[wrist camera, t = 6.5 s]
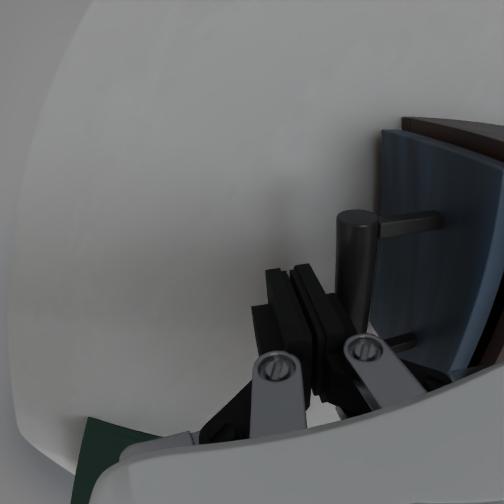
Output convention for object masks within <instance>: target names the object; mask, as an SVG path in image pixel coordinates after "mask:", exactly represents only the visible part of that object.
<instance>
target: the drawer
mask: <svg viewBox="0 0 504 504" xmlns="http://www.w3.org/2000/svg"><path fill="white" fill-rule="evenodd" d="M377 237H378V238H379V239H378V251H377V262H376V272H375V281H374V289H373V280H374V271H375V261H376V249H377ZM372 289H373V297H372ZM335 294H336V295H337V297H338V298H339V300H340V302H341V304H342V305H343V307H344V309H345V311H346V312H347V314H348V316H349V318H350V319H351V321H352V323H353V325H354V326H355V328H356V330H357V332H358V334H361V333H366V332H367V325H368V319H369V312H370V304H371V297H372V305H371V312H370V319H369V321H370V323H371V324H372V326H373V328H374V329H375V331H376V332H377V334H378V336H379V337H380V338H381V339H382V340H383V341H384V342H385V343H386V344H387V345H388V346H389V347H390V348H391V350H392V351H393V352H394V353H395V354H396V355H397V357H398V358H400V359H404V360H407V361H410V362H413V363H416V364H419V365H422V366H425V367H429V368H432V369H435V370H438V371H441V372H443V373H445V374H446V375H447V374H448V372H449V371H453V370H459V369H465V368H470V367H476V366H479V364H480V362H481V359H482V357H483V355H484V353H485V351H486V349H487V347H488V344H489V342H490V340H491V338H492V335H493V333H494V331H495V328H496V326H497V323H498V321H499V318H500V316H501V313H502V311H503V308H504V162H501V161H498V160H496V159H493V158H491V157H488V156H485V155H482V154H480V153H477V152H474V151H471V150H468V149H465V148H462V147H459V146H456V145H453V144H450V143H447V142H443V141H440V140H437V139H433V138H430V137H426V136H423V135H419V134H415V133H412V132H408V131H404V130H382V181H381V207H380V216H379V217H377V215H375V214H374V213H372V212H369V211H365V210H347V211H343V212H341V213H339V214H338V215H337V221H336V272H335Z"/></svg>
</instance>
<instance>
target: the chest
mask: <svg viewBox="0 0 504 504" xmlns="http://www.w3.org/2000/svg"><path fill="white" fill-rule="evenodd" d="M158 438H162V437H158V436H153V435H149V434H145V433H141V432H137V431H134V430H130V429H126V428H123V427H119V426H116V425H112V424H109V423H106V422H103V421H100V420H96V419H93V418H90V417H88V419H87V424H86V428H85V432H84V436H83V440H82V445H81V450H80V454H79V459H78V464H77V469H76V474H75V481H74V486H73V492H72V498H71V504H89V501H90V497H91V494H92V491H93V488H94V486H95V483H96V481H97V479H98V478H99V477H100V475H101V474H102V473H103V472H104V471H105V470H106V469H108V468H109V467H111V466H112V465H114V464H116V463H118V462H119V457H120V455H121V453H122V451H123V450H124V449H125V448H127V447H128V446H130V445H133V444H135V443H140V442H145V441H150V440H154V439H158Z"/></svg>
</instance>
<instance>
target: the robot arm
mask: <svg viewBox="0 0 504 504" xmlns="http://www.w3.org/2000/svg"><path fill="white" fill-rule="evenodd" d="M265 274H266V284H267V295H268V304H264V305H257V306H251V309H252V317H253V324H254V331H255V337H256V343H257V348H258V354H259V358H257V360H256V361H255V363H254V366H253V374H252V380H251V381H250V382H249V383H248V384H247V385H246V386H245V387H244V388H243V389H242V390H241V391H240V392H239V393H238V394H237V395H236V396H235V397H234V398H233V399H232V400H231V401H230V402H229V403H228V404H227V405H225V406H224V407H223V408H222V409H221V410H220V411H219V412H218V413H217V414H216V415H215V416H214V417H213V418H212V419H211V420H210V421H208V422H207V423H206V424H205V425H204V427H203V428H202V429H201V431H198V432H194V433H190V431H186V432H183V433H179V434H175V435H171V436H167V437H163V438H158V439H154V440H150V441H145V442H140V443H135V444H133V445H130V446H128V447H127V448H125V449H124V450H123V451H122V453H121V455H120V457H119V462H118V463H116V464H114V465H112V466H111V467H109V468H108V469H106V470H105V471H104V472H103V473H102V474H101V475H100V477H99V478H98V479H97V481H96V483H95V486H94V488H93V491H92V494H91V497H90V501H89V504H504V362H501V363H497V364H486V365H481V366H476V367H470V368H465V369H459V370H453V371H449V372H448V374H447V375H446V374H445V373H443V372H441V371H438V370H435V369H432V368H429V367H425V366H422V365H419V364H416V363H413V362H410V361H407V360H404V359H400V358H398V357H397V355H396V354H395V353H394V352H393V351H392V350H391V348H390V347H389V346H388V345H387V344H386V343H385V342H384V341H383V340H382V339H381V338H380V337H378V336H376V335H373V334H368V333H361V334H358V332H357V330H356V328H355V326H354V325H353V323H352V321H351V319H350V318H349V316H348V314H347V312H346V311H345V309H344V307H343V305H342V304H341V302H340V300H339V298H338V297H337V295H336V294H335V293H329V294H325V292H324V290H323V288H322V286H321V284H320V282H319V281H318V279H317V277H316V275H315V273H314V271H313V270H312V268H311V266H310V264H309V263H308V264H301V265H295V266H294V269H293V270H290V272H289V274H290V279H289V277H288V274H287V272H286V271H281V269H280V268H275V269H269V270H265ZM311 388H312V391H313V394H314V396H317V395H319V396H320V399H321V402H322V403H324V402H329V403H331V404H333V405H336V411H337V414H338V415H339V417H340V419H341V421H337V422H333V423H329V424H324V425H320V426H316V427H311V428H307V420H306V410H307V409H308V408H309V406H310V396H311Z"/></svg>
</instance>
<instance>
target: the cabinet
mask: <svg viewBox="0 0 504 504" xmlns="http://www.w3.org/2000/svg"><path fill="white" fill-rule="evenodd" d="M402 119H403V130H404V131H408V132H412V133H415V134H419V135H423V136H426V137H430V138H433V139H437V140H440V141H443V142H447V143H450V144H453V145H456V146H459V147H462V148H465V149H468V150H471V151H474V152H477V153H480V154H482V155H485V156H488V157H491V158H493V159H496V160H498V161H501V162H504V126H500V125H494V124H486V123H479V122H470V121H461V120H450V119H438V118H423V117H403V118H402ZM501 362H504V308H503V311H502V313H501V316H500V318H499V321H498V323H497V326H496V328H495V331H494V333H493V335H492V338H491V340H490V342H489V344H488V347H487V349H486V351H485V353H484V355H483V357H482V359H481V362H480V364H479V366H481V365H486V364H497V363H501Z"/></svg>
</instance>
